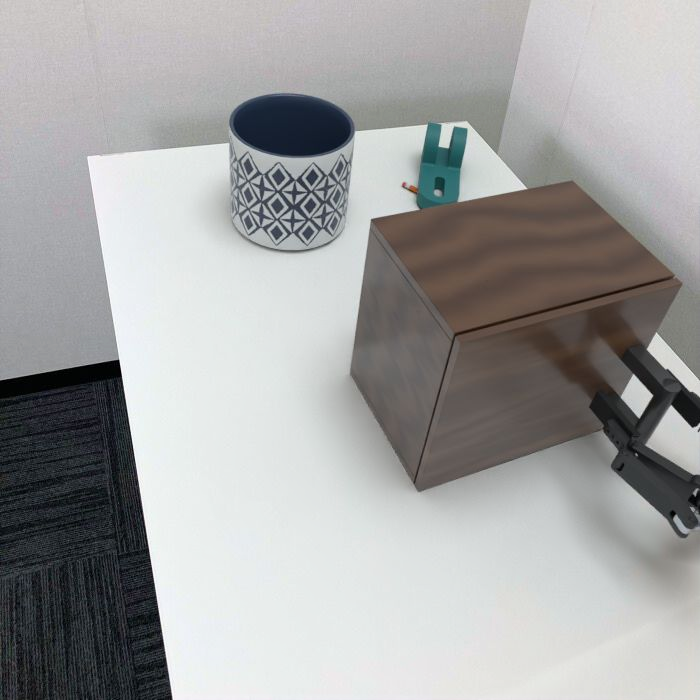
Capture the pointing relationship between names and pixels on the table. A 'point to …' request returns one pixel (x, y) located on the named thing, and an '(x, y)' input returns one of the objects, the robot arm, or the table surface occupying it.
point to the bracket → (440, 167)
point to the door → (546, 381)
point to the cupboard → (476, 289)
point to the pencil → (410, 187)
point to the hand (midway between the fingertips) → (628, 387)
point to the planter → (290, 170)
